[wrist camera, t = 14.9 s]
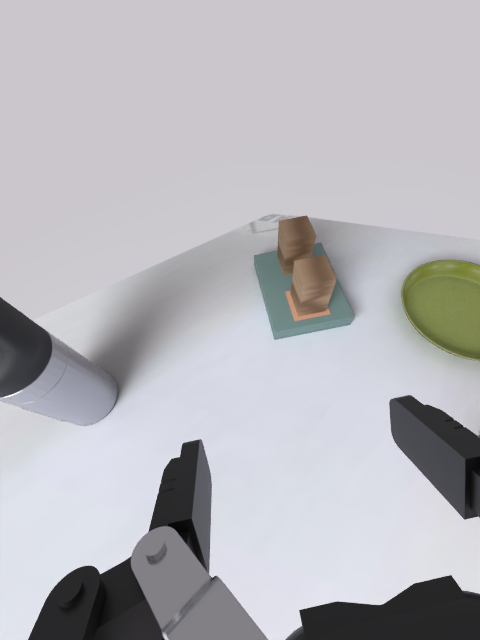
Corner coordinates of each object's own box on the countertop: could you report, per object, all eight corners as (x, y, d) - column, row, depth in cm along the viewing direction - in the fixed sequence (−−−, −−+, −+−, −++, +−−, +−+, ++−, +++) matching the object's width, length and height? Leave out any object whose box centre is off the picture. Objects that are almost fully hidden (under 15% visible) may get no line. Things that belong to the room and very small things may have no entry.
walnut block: (298, 316, 49) (303, 285, 42) (290, 294, 52) (294, 260, 44) (325, 311, 49) (336, 278, 42) (316, 288, 52) (325, 254, 44)
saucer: (551, 363, 45) (570, 355, 42) (420, 374, 46) (429, 367, 43) (486, 264, 56) (497, 253, 53) (380, 275, 57) (386, 264, 54)
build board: (274, 339, 51) (275, 331, 48) (254, 265, 60) (253, 254, 57) (350, 324, 51) (354, 315, 49) (318, 253, 60) (321, 242, 58)
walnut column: (283, 275, 54) (286, 241, 47) (277, 256, 57) (278, 220, 49) (308, 270, 54) (315, 235, 47) (301, 252, 57) (307, 215, 49)
